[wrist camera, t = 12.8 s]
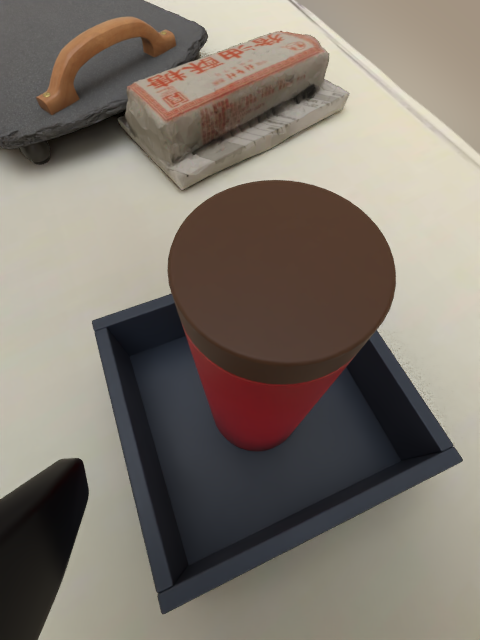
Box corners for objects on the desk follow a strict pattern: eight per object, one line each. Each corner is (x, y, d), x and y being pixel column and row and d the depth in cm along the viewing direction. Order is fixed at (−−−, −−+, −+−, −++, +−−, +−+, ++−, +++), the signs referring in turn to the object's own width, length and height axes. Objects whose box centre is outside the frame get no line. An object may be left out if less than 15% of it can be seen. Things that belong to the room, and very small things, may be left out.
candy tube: (314, 430, 17) (447, 312, 6) (231, 466, 17) (212, 406, 5) (276, 352, 19) (326, 158, 8) (200, 381, 18) (141, 210, 7)
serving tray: (236, 71, 34) (235, -10, 29) (42, 198, 26) (-10, 118, 21) (16, -30, 46) (-14, -102, 40) (-167, 36, 37) (-237, -43, 32)
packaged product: (170, 137, 22) (100, 70, 26) (182, 196, 26) (120, 132, 30) (363, 49, 27) (281, 4, 31) (346, 111, 31) (276, 65, 35)
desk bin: (411, 469, 17) (464, 460, 13) (182, 583, 15) (161, 616, 11) (304, 289, 22) (319, 243, 18) (121, 356, 20) (91, 320, 16)
